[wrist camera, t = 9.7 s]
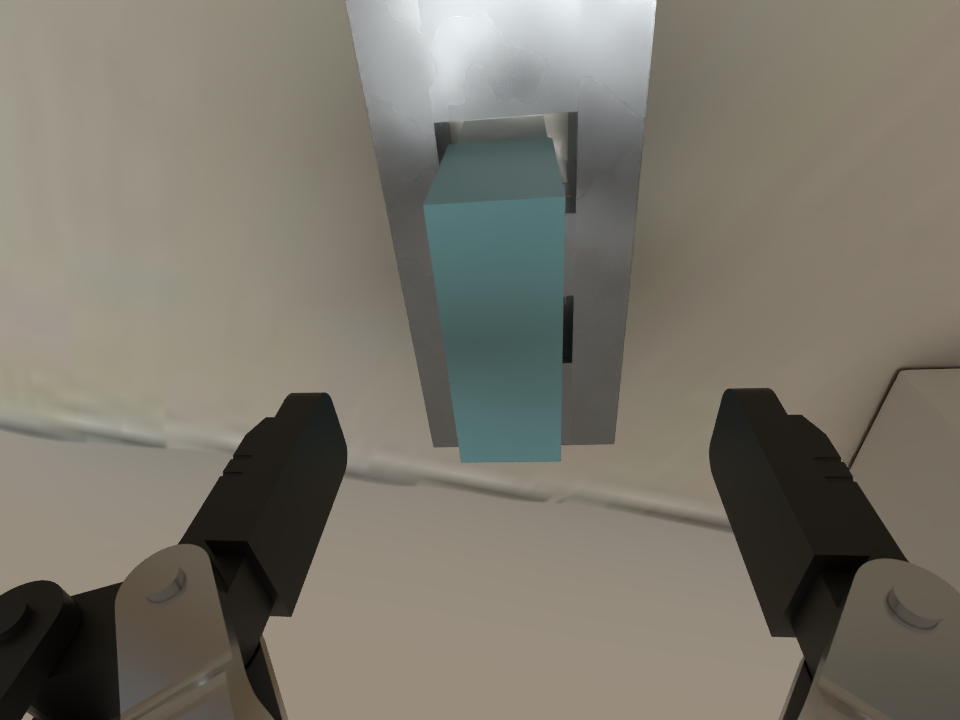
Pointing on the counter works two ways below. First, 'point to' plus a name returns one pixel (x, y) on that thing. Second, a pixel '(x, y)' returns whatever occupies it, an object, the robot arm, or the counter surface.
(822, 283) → the counter surface
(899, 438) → the milk carton
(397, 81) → the grey socket block
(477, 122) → the teal elongated block
